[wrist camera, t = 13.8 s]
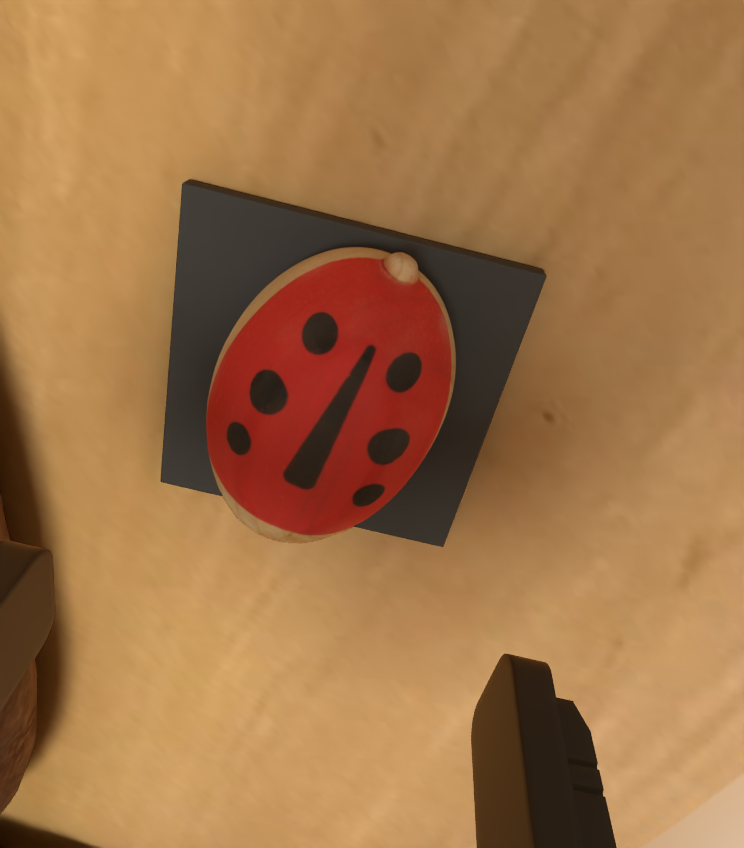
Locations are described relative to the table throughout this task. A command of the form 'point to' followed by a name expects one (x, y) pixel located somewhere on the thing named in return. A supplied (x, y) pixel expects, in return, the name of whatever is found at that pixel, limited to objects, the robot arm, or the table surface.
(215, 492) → the mat
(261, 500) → the ladybug figurine
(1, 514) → the bread
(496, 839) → the robot arm
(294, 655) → the table surface
